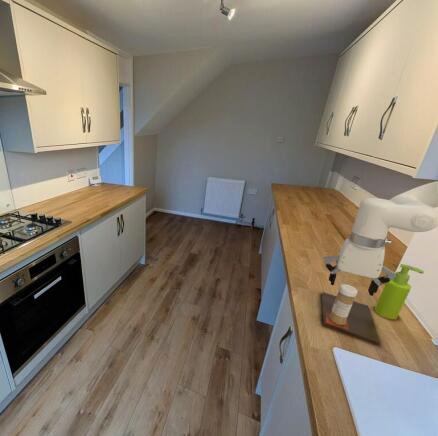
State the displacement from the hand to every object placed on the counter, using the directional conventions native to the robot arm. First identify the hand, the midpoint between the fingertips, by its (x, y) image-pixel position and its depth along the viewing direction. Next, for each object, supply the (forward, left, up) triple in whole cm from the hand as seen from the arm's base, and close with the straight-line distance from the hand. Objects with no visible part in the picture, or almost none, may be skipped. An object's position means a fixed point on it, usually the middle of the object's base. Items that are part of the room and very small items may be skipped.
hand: (350, 288), depth 76 cm
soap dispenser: (-23, -1, -15) cm, 27 cm away
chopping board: (-7, -3, -15) cm, 16 cm away
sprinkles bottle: (0, 0, -14) cm, 14 cm away
